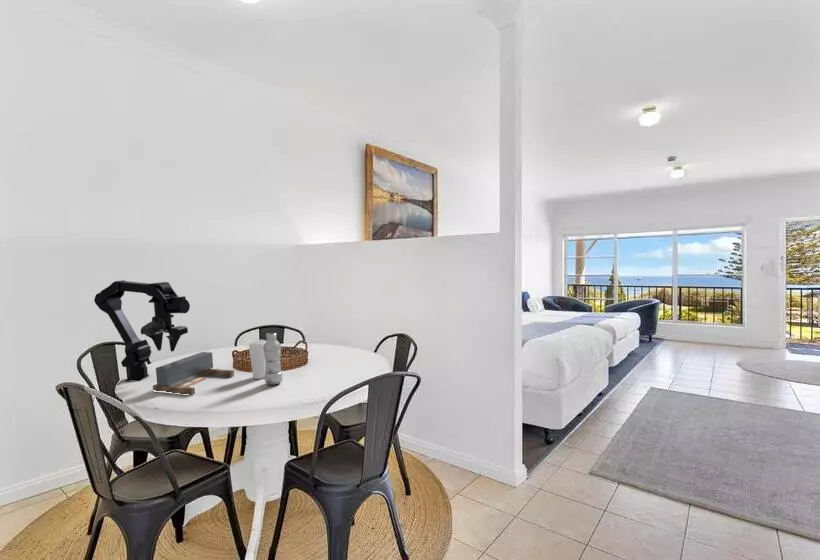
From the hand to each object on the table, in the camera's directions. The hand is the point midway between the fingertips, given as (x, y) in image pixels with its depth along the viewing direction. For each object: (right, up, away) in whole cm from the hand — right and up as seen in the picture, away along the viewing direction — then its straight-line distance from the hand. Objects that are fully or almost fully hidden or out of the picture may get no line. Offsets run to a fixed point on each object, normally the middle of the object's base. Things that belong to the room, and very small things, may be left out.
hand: (165, 350), depth 170 cm
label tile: (+11, -12, -4) cm, 17 cm away
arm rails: (+15, -12, -5) cm, 20 cm away
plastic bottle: (+47, -12, -8) cm, 49 cm away
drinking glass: (+38, -11, 0) cm, 40 cm away
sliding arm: (+11, -9, -4) cm, 15 cm away
